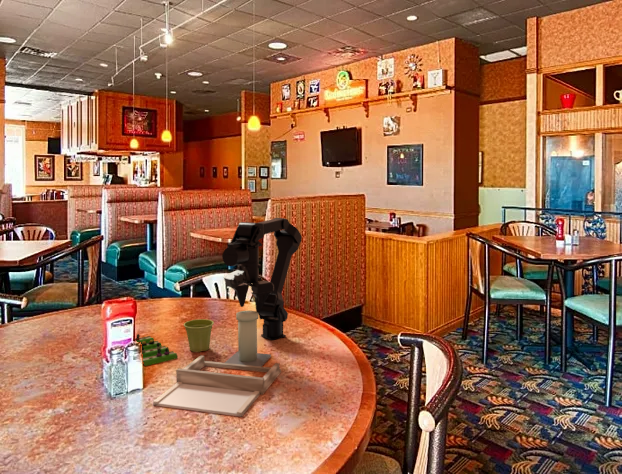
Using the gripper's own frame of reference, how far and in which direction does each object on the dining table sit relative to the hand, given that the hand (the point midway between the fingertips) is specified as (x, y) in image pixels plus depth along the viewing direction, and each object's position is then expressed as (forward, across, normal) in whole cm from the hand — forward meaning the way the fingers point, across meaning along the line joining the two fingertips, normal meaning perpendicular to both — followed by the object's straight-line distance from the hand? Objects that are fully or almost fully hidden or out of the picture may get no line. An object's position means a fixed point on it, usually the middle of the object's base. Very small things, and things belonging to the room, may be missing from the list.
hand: (249, 309), depth 160 cm
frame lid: (+13, +25, -29) cm, 40 cm away
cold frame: (+13, +16, -18) cm, 27 cm away
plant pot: (+13, -10, -13) cm, 21 cm away
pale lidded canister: (+12, +9, -7) cm, 17 cm away
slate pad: (+13, +9, -7) cm, 17 cm away
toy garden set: (+14, -19, -31) cm, 39 cm away
